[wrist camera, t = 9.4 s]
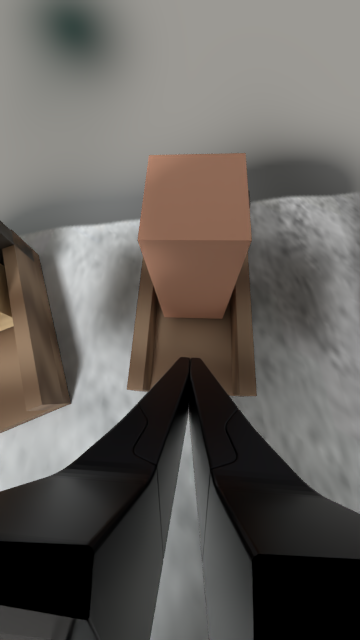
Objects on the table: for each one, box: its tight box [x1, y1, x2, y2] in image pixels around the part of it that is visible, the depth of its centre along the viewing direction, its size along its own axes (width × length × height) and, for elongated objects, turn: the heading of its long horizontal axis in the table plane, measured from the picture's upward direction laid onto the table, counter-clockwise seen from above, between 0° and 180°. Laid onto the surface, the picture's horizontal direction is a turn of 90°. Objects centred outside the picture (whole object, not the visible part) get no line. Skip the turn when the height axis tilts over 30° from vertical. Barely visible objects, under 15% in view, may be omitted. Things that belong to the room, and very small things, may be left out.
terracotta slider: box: [138, 153, 252, 319], centre depth 14 cm, size 5×5×9 cm
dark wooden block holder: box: [127, 191, 257, 396], centre depth 17 cm, size 15×8×5 cm, turn 177°
